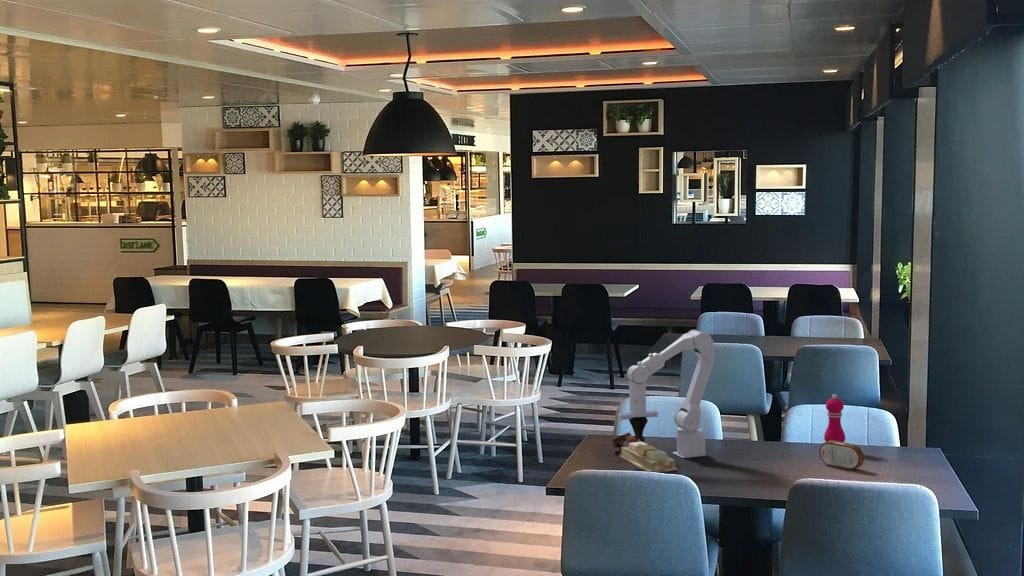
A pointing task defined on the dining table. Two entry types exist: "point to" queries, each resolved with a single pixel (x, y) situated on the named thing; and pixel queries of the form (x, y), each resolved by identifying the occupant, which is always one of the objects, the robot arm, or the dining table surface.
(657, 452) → the sage key
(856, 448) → the tin
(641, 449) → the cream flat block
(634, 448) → the ivory key
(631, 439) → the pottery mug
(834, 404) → the pepper mill
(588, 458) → the dining table surface
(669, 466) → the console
